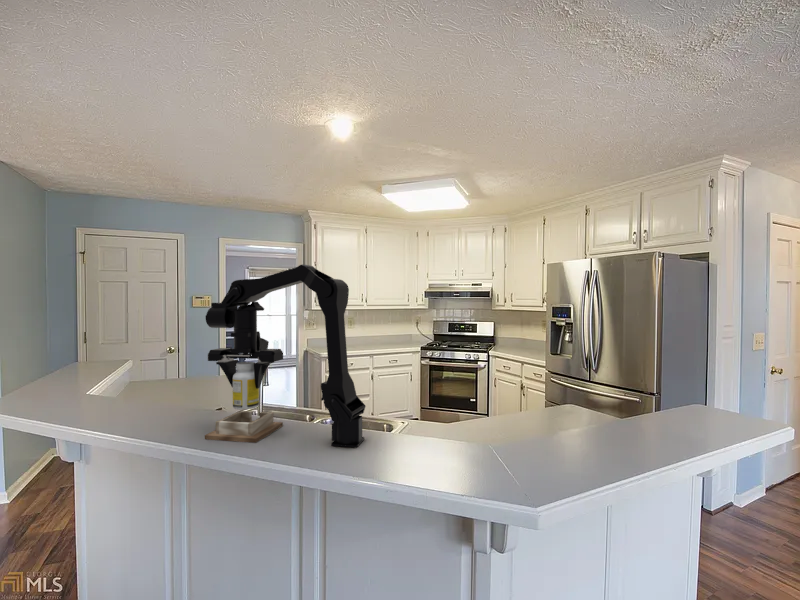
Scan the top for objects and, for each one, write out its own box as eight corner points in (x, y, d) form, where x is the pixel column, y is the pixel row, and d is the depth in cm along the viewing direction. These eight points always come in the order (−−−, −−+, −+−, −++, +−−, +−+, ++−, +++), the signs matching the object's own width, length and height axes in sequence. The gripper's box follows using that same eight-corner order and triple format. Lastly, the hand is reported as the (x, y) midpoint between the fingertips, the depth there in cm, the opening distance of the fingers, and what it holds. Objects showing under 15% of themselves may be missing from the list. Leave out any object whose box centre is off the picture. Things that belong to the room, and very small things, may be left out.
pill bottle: (263, 404, 115) (263, 361, 115) (252, 410, 108) (252, 365, 108) (239, 404, 115) (239, 361, 115) (227, 410, 109) (227, 364, 109)
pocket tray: (282, 426, 117) (282, 411, 117) (256, 442, 104) (256, 426, 104) (236, 423, 120) (236, 409, 120) (204, 439, 106) (204, 423, 106)
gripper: (292, 326, 118) (292, 383, 118) (231, 326, 122) (231, 381, 122) (272, 329, 107) (273, 391, 107) (206, 329, 111) (206, 389, 111)
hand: (245, 388), depth 112 cm, fingers closed on pill bottle, 6 cm apart
